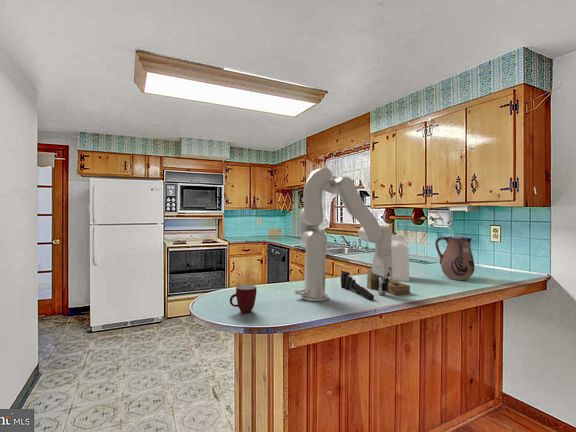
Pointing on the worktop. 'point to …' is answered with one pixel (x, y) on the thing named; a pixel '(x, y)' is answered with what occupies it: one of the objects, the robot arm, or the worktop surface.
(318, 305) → the worktop surface
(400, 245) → the milk
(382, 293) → the round bit
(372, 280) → the square bit
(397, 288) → the socket block
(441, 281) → the worktop surface
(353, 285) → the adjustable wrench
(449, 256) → the ceramic pitcher
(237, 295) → the mug
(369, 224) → the robot arm
